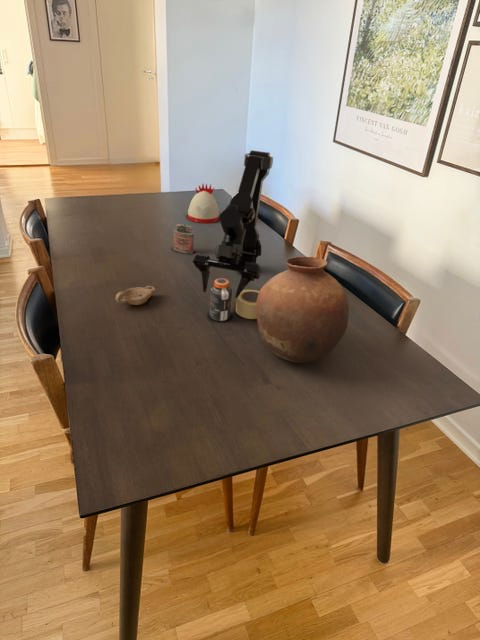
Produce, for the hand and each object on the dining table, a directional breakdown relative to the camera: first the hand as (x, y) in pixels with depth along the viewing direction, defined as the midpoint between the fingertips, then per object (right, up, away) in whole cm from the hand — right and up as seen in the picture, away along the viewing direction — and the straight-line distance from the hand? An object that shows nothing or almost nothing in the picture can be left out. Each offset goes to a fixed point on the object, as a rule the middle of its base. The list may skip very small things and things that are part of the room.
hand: (220, 294), depth 124 cm
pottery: (+20, -15, -6) cm, 26 cm away
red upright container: (-15, +19, +42) cm, 49 cm away
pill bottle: (0, -6, +5) cm, 8 cm away
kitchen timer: (-11, +39, +75) cm, 85 cm away
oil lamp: (-25, -2, +8) cm, 26 cm away
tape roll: (+9, -4, +9) cm, 13 cm away
